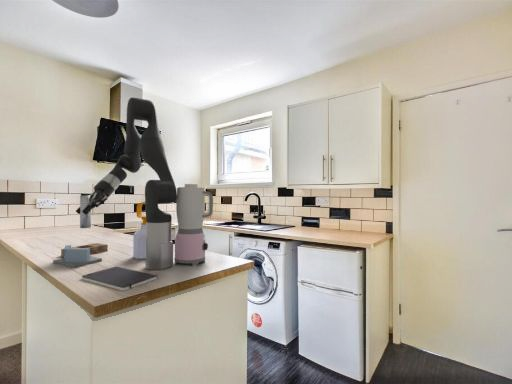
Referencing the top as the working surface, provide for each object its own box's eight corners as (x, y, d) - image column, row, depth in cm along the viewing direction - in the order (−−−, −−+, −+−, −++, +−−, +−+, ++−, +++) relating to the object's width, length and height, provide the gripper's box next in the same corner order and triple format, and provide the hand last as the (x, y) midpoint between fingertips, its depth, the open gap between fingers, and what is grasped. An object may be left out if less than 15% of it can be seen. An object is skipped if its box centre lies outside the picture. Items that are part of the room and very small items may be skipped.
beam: (97, 249, 131) (97, 242, 131) (107, 250, 127) (107, 244, 127) (61, 255, 117) (61, 249, 117) (71, 258, 113) (71, 251, 113)
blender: (168, 265, 104) (169, 183, 104) (182, 257, 116) (183, 184, 116) (206, 268, 101) (207, 183, 101) (217, 260, 113) (218, 184, 113)
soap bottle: (150, 259, 113) (151, 201, 113) (129, 259, 113) (129, 201, 113) (158, 254, 122) (159, 200, 122) (139, 254, 122) (139, 200, 122)
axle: (92, 227, 117) (92, 195, 117) (83, 228, 113) (83, 195, 114) (87, 226, 119) (87, 195, 119) (78, 227, 115) (78, 195, 115)
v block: (102, 261, 109) (102, 246, 109) (74, 267, 99) (74, 251, 99) (81, 256, 116) (81, 242, 116) (52, 262, 106) (52, 247, 106)
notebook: (157, 280, 89) (116, 270, 98) (157, 275, 89) (116, 266, 98) (123, 292, 77) (80, 280, 87) (123, 287, 77) (80, 275, 87)
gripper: (92, 180, 126) (64, 206, 115) (112, 179, 120) (84, 207, 109) (103, 191, 131) (77, 218, 120) (122, 191, 124) (97, 219, 113)
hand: (80, 212), depth 114 cm, fingers closed on axle, 4 cm apart
